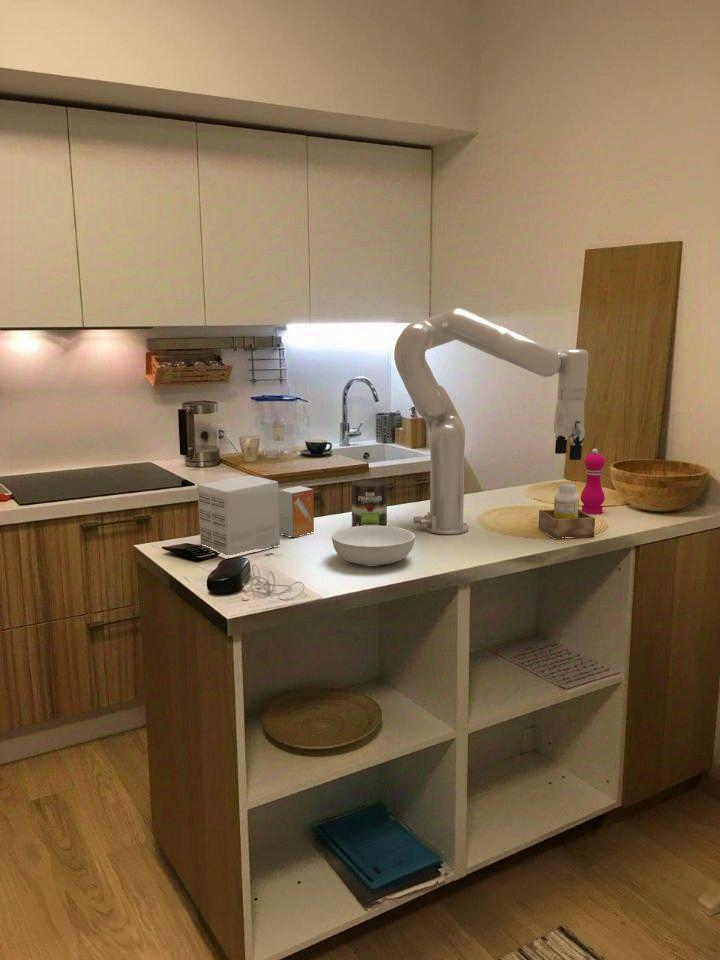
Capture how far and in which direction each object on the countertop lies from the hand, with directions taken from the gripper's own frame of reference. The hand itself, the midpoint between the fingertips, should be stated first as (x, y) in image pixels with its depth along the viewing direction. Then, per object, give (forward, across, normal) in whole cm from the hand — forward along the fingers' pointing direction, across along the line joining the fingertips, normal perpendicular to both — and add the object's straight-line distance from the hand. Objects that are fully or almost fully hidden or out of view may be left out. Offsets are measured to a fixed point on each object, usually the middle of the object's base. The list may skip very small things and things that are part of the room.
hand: (567, 456), depth 223 cm
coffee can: (+23, -13, -53) cm, 59 cm away
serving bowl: (+23, +16, -57) cm, 64 cm away
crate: (+22, 0, +1) cm, 22 cm away
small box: (+24, -13, -74) cm, 79 cm away
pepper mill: (+22, -22, +19) cm, 36 cm away
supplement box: (+24, -1, -90) cm, 93 cm away
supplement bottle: (+21, 0, +1) cm, 21 cm away
